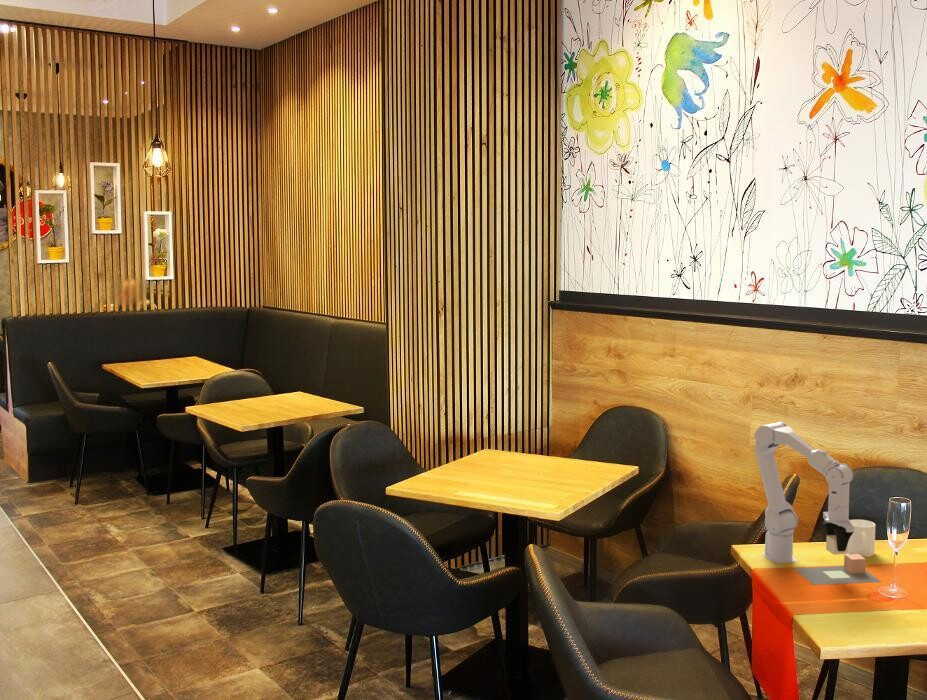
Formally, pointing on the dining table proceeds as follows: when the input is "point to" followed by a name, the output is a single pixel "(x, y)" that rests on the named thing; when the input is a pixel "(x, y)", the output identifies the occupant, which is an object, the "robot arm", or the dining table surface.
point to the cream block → (834, 545)
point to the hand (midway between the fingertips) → (837, 548)
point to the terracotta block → (854, 563)
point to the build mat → (834, 575)
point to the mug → (862, 538)
